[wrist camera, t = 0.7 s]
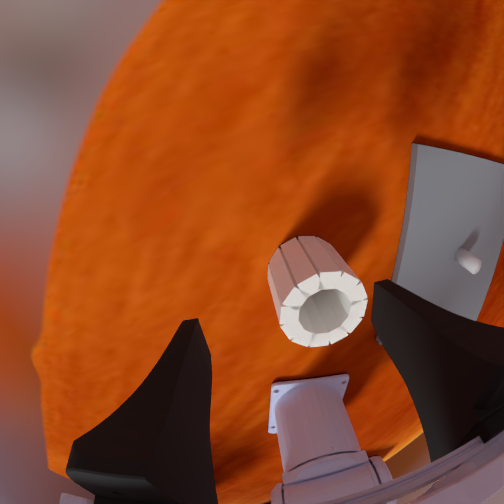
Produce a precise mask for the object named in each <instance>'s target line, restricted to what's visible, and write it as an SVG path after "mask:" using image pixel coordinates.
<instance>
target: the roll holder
mask: <svg viewBox="0 0 504 504" xmlns="http://www.w3.org/2000/svg"><path fill="white" fill-rule="evenodd" d="M503 239H504V164H501V163H497V162H494V161H490V160H487V159H483V158H479V157H475V156H471V155H467V154H463V153H459V152H455V151H450V150H446V149H441V148H436V147H431V146H426V145H420V144H415V143H412V149H411V162H410V173H409V182H408V191H407V199H406V206H405V213H404V219H403V226H402V231H401V237H400V243H399V248H398V253H397V258H396V263H395V268H394V272H393V277H392V282H394V283H396V284H398V285H400V286H401V287H403V288H405V289H407V290H409V291H411V292H412V293H414V294H416V295H418V296H420V297H422V298H423V299H425V300H427V301H429V302H431V303H433V304H435V305H437V306H439V307H441V308H444V309H446V310H448V311H450V312H452V313H455V314H457V315H460V316H463V317H465V318H468V319H471V320H474V321H476V320H477V317H478V315H479V313H480V310H481V308H482V305H483V302H484V300H485V297H486V294H487V292H488V289H489V286H490V283H491V280H492V277H493V274H494V271H495V268H496V264H497V261H498V258H499V254H500V251H501V247H502V243H503ZM376 341H377V343H378V345H382V343H381V341H380V340H379V337H378V335H377V337H376Z"/></svg>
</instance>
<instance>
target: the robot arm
mask: <svg viewBox="0 0 504 504" xmlns="http://www.w3.org/2000/svg"><path fill="white" fill-rule="evenodd" d="M371 321H372V324H373V326H374V328H375V331H376V333H377V335H378V337H379V340H380V341H381V343H382V345H383V346H384V348H385V350H386V351H387V353H388V355H389V356H390V358H391V359H392V361H393V363H394V364H395V366H396V368H397V369H398V371H399V373H400V374H401V376H402V378H403V380H404V381H405V383H406V385H407V388H408V390H409V392H410V395H411V397H412V399H413V402H414V404H415V407H416V410H417V413H418V415H419V418H420V421H421V424H422V428H423V431H424V434H425V438H426V441H427V446H428V449H429V454H430V459H431V463H430V464H428V465H425V466H423V467H421V468H419V469H417V470H415V471H412V472H410V473H408V474H406V475H403V476H401V477H398V478H396V479H394V480H393V479H392V476H391V474H390V471H389V469H388V467H387V465H386V464H385V462H384V461H383V460H381V459H379V458H377V457H375V456H373V457H370V458H368V456H367V453H366V451H365V450H363V451H361V449H360V446H359V443H358V440H357V438H356V435H355V432H354V430H353V427H352V424H351V422H350V419H349V416H348V414H347V411H346V408H345V406H344V403H343V400H342V399H343V396H344V393H345V390H346V387H347V384H348V381H349V375H348V374H341V375H335V376H328V377H321V378H313V379H304V380H295V381H286V382H276V383H273V384H272V386H271V398H270V411H269V423H268V432H269V433H277V435H278V441H279V447H280V452H281V458H282V464H283V470H284V473H282V479H283V483H277V484H276V485H275V487H274V489H273V490H272V491H271V504H397V499H398V498H400V497H403V496H405V495H407V494H410V493H412V492H414V491H416V490H418V489H420V488H422V487H425V486H427V485H429V484H431V483H432V482H435V481H437V480H439V479H440V478H442V477H443V478H442V479H440V480H439V481H437V482H436V483H434V484H433V485H432V487H431V488H430V489H429V490H428V491H426V492H425V493H424V494H422V495H421V496H420V497H418V498H417V499H415V500H412V501H410V502H408V503H405V504H483V503H484V502H485V501H487V500H488V499H490V498H491V497H492V496H494V495H495V494H496V493H498V492H499V491H500V490H501V489H502V488H504V328H503V327H497V326H493V325H488V324H485V323H481V322H478V321H474V320H471V319H468V318H465V317H463V316H460V315H457V314H455V313H452V312H450V311H448V310H446V309H444V308H441V307H439V306H437V305H435V304H433V303H431V302H429V301H427V300H425V299H423V298H422V297H420V296H418V295H416V294H414V293H412V292H411V291H409V290H407V289H405V288H403V287H401V286H400V285H398V284H396V283H394V282H392V281H390V280H388V279H386V280H382V281H378V282H374V294H373V307H372V317H371ZM211 389H212V365H211V354H210V351H209V348H208V346H207V343H206V340H205V337H204V335H203V332H202V329H201V326H200V323H199V320H198V318H197V319H191V320H184V321H183V322H182V323H181V325H180V326H179V328H178V330H177V331H176V333H175V335H174V336H173V338H172V340H171V342H170V343H169V345H168V346H167V348H166V350H165V351H164V353H163V354H162V356H161V358H160V359H159V361H158V362H157V364H156V365H155V366H154V368H153V369H152V371H151V372H150V373H149V375H148V376H147V377H146V379H145V380H144V381H143V383H142V384H141V385H140V386H139V387H138V388H137V390H136V391H135V392H134V393H133V394H132V395H131V396H130V397H129V398H128V399H127V400H126V401H125V402H124V403H123V404H122V405H121V406H120V407H119V408H118V409H117V410H116V411H115V412H113V413H112V414H111V415H110V416H109V417H108V418H106V419H105V420H104V421H103V422H101V423H100V424H99V425H97V426H96V427H95V428H93V429H92V430H90V431H89V432H87V433H86V434H84V435H83V436H81V437H79V438H78V439H76V440H74V442H73V445H72V448H71V452H70V456H69V459H68V463H67V467H66V474H67V475H68V476H69V478H70V479H71V480H73V481H74V482H75V483H77V484H78V485H80V486H81V487H83V488H85V489H86V490H88V491H89V492H91V493H93V494H94V495H95V500H94V501H91V500H89V499H85V498H82V497H77V496H74V495H70V494H66V493H62V494H61V498H60V503H59V504H218V500H217V494H216V488H215V480H214V473H213V464H212V455H211V443H210V406H211ZM446 475H447V476H446ZM444 476H445V477H444Z"/></svg>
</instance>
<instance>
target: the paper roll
mask: <svg viewBox="0 0 504 504" xmlns="http://www.w3.org/2000/svg"><path fill="white" fill-rule="evenodd" d="M280 246H281V249H280V248H277V250H276V251H275V253H274V254H273V256H272V258H271V259H270V261H269V263H270V264H268V282H269V286H270V289H271V293H272V297H273V301H274V304H275V308H276V312H277V316H278V320H279V323H280V327H281V328H282V330H283V331H284V333H285V334H286V335H287V337H288V338H289V340H290V339H291V341H292V342H295V343H298V344H300V345H303V346H306V347H308V346H310V347H318V346H327V345H329V341H330V343H331V344H333V343H335V342H337V341H339V340H341V339H342V338H344V337H346V336H348V334H347V332H349V333H351V332H352V331H353V330H354V329H355V328H356V326H357V325H358V324H359V323H360V322H361V320H362V317H364V314H365V310H366V305H367V301H368V300H367V295H366V292H365V290H364V287H363V285H362V282H361V281H360V280H359V278H358V277H357V276H356V275H355V273H354V272H353V271H352V270H351V268H350V267H349V266H348V265H347V263H346V262H345V261H344V260H343V258H342V257H341V256H340V255H339V254H338V252H337V251H336V250H335V249H334V247H333V246H332V245H331V244H330V243H328V242H326V241H324V240H323V239H321V238H319V237H318V236H317V238H316V237H315V236H298V240H297V239H296V237H294V238H293V239H291V240H289V241H287V242H285V243H284V244H282V245H280Z"/></svg>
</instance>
